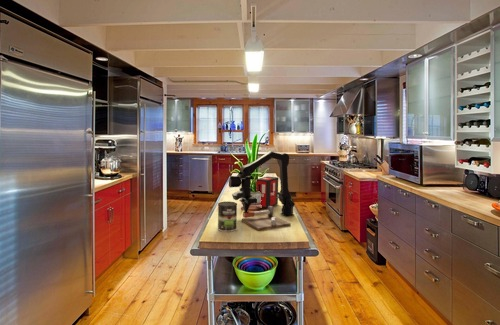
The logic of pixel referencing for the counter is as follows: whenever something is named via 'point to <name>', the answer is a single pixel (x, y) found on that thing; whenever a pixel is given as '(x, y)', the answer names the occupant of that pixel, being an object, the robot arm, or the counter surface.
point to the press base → (265, 222)
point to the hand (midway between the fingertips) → (245, 211)
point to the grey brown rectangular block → (273, 221)
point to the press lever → (259, 212)
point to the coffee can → (227, 216)
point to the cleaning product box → (268, 191)
